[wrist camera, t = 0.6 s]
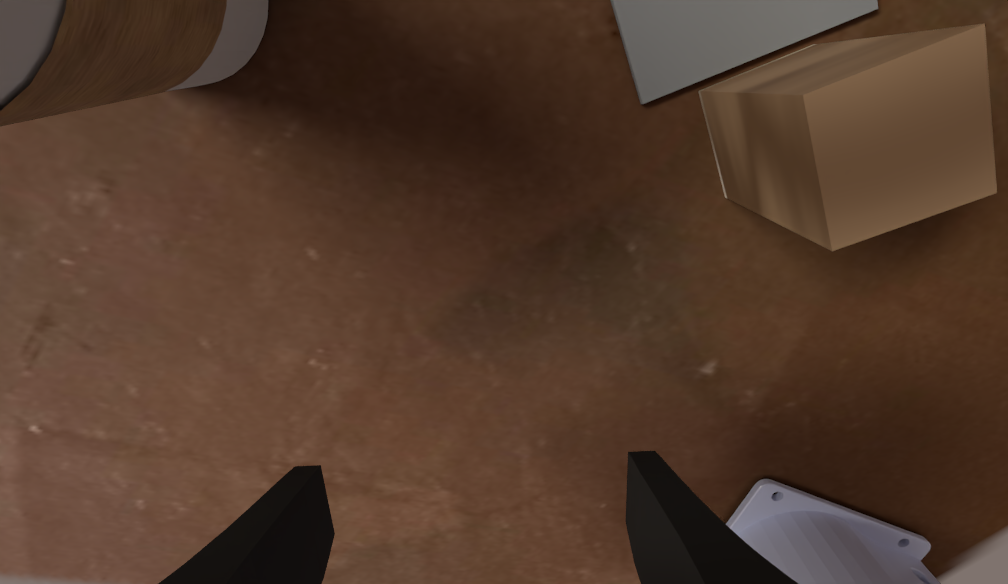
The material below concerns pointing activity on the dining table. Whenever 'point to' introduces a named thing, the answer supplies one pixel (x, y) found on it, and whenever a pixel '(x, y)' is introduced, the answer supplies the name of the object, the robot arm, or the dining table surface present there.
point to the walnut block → (858, 133)
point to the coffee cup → (117, 50)
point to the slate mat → (715, 35)
